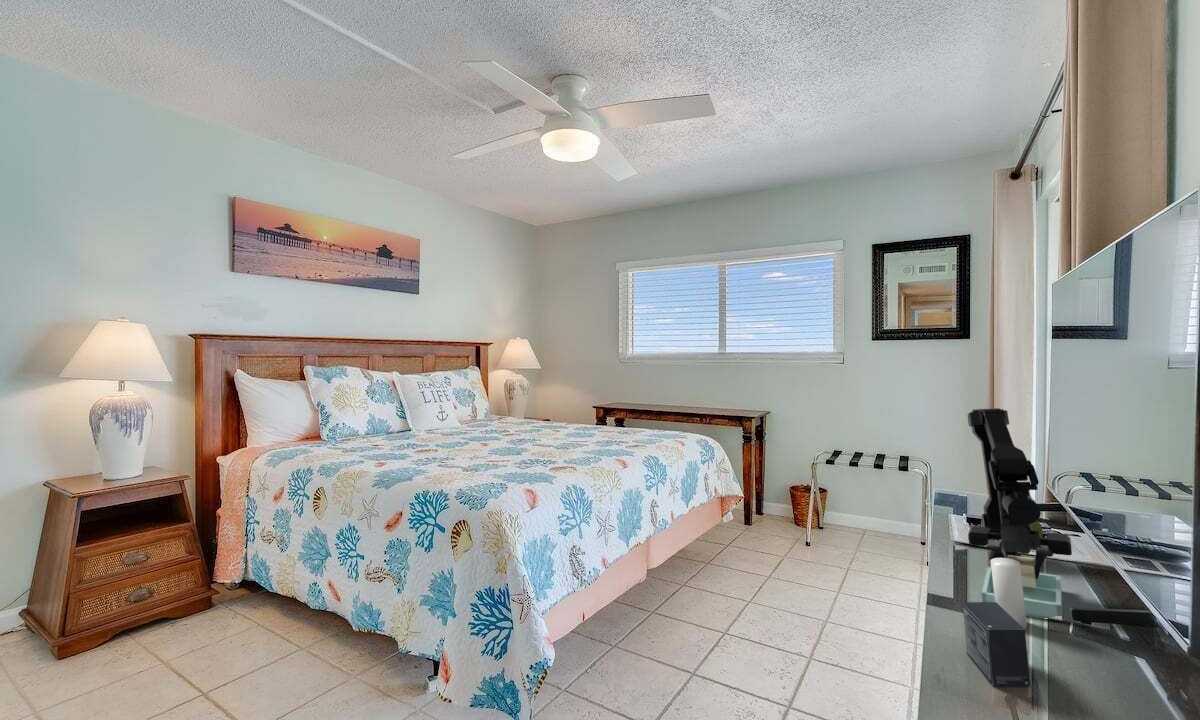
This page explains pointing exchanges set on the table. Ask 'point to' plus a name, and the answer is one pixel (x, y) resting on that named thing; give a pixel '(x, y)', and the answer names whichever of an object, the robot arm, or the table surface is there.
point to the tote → (1033, 595)
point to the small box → (996, 644)
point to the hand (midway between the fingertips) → (1022, 576)
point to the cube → (1026, 570)
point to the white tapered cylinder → (1009, 588)
